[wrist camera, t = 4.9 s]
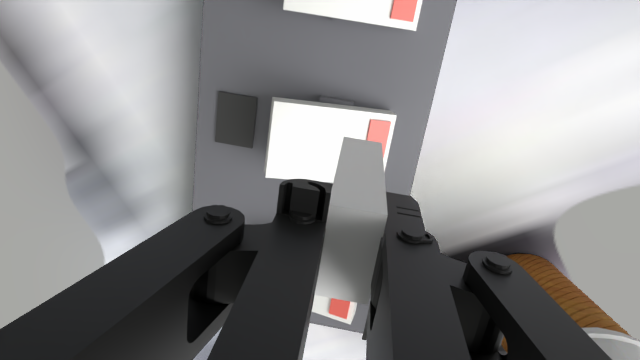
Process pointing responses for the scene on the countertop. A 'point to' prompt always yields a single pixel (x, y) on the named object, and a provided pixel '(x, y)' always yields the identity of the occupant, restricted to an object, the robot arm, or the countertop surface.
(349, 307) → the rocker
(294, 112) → the rocker middle
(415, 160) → the power strip
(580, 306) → the disposable coffee cup
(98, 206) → the countertop surface
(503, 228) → the countertop surface
